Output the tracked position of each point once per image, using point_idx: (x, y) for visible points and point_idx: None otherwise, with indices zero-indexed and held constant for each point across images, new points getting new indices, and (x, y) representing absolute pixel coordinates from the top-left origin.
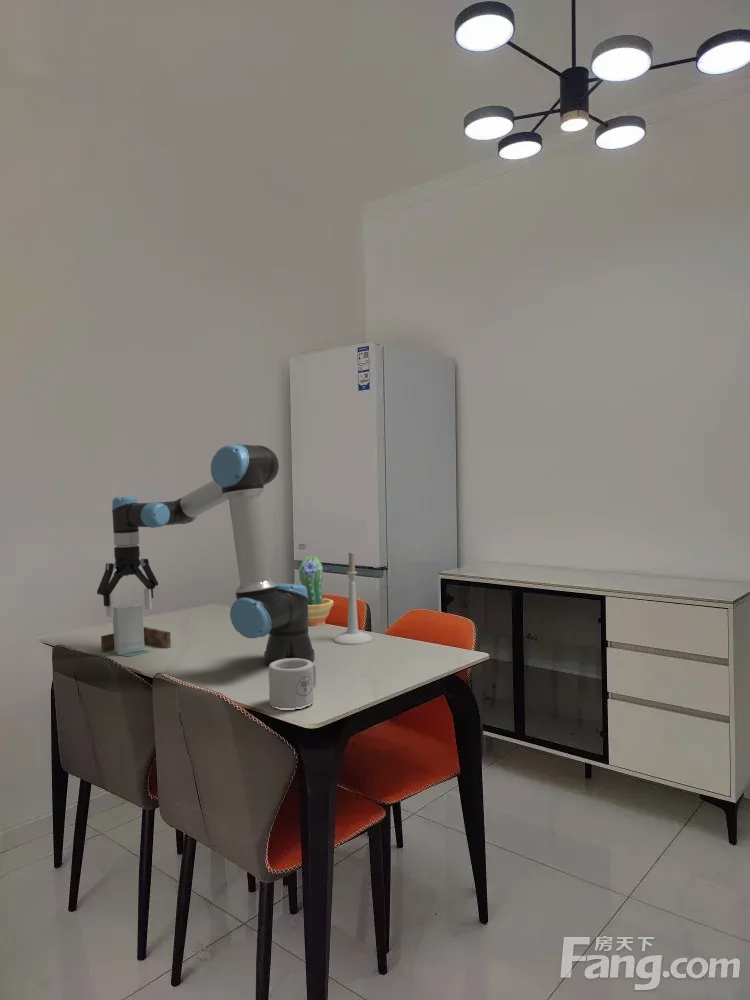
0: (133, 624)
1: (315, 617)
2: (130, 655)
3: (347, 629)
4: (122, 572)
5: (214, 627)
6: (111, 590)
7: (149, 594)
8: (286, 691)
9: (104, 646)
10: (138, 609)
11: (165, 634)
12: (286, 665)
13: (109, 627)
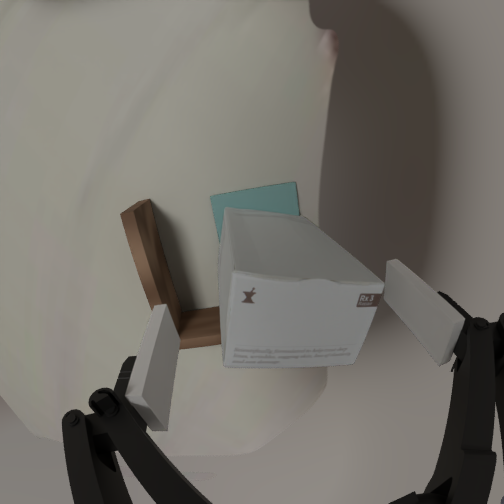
0: (278, 237)
1: None
2: (285, 183)
3: None
4: (480, 490)
5: (14, 320)
6: (478, 345)
7: (146, 366)
8: None
9: None
10: (260, 264)
11: (138, 219)
12: None
13: (204, 446)
